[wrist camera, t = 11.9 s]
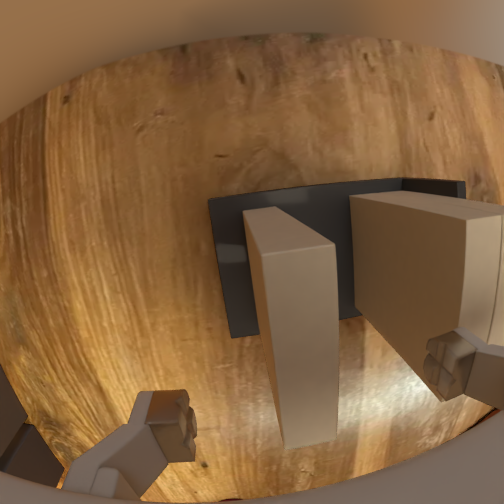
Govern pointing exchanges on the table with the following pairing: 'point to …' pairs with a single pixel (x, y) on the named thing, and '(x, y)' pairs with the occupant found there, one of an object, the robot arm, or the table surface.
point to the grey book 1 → (9, 413)
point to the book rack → (384, 257)
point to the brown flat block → (297, 322)
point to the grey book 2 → (31, 458)
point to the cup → (229, 500)
